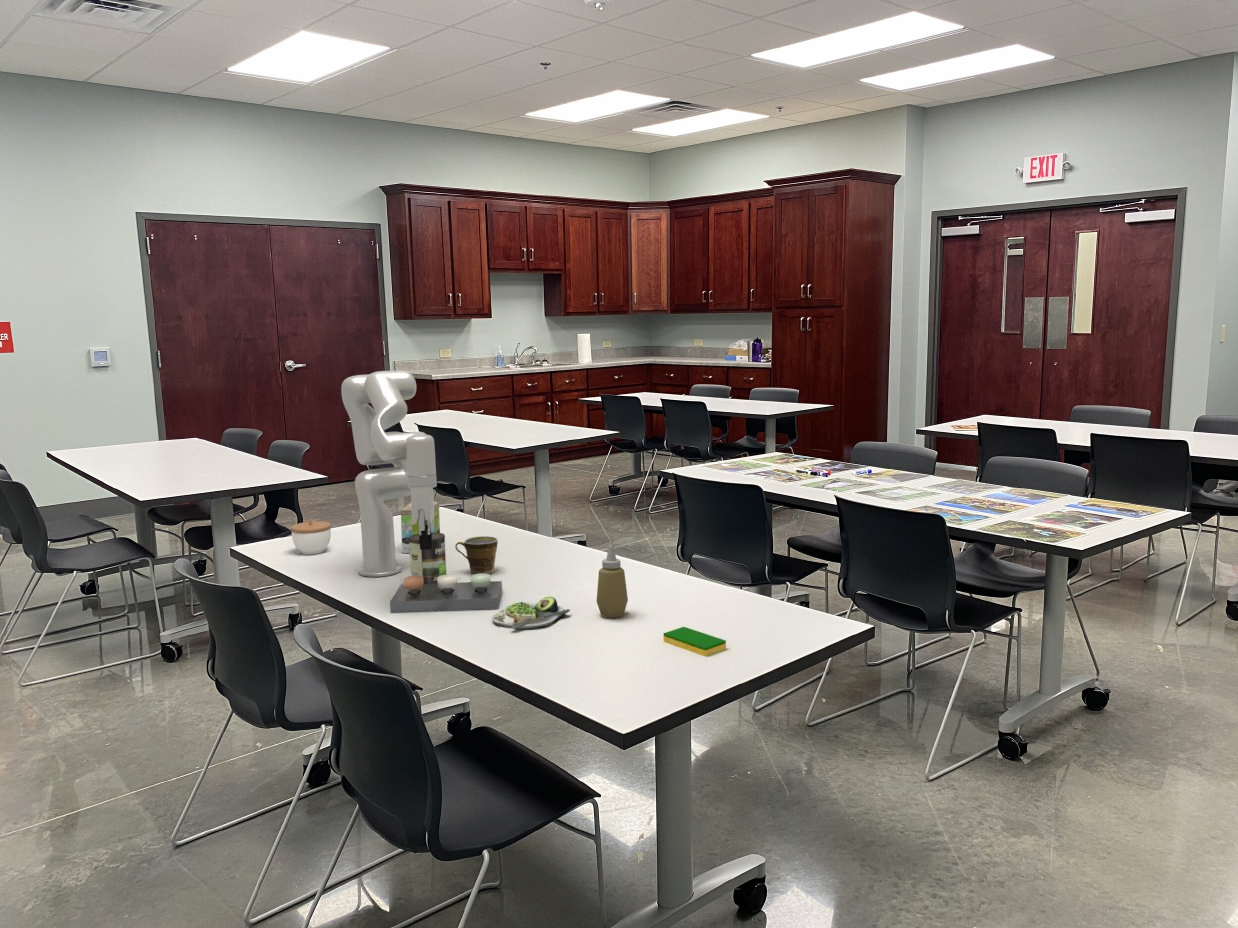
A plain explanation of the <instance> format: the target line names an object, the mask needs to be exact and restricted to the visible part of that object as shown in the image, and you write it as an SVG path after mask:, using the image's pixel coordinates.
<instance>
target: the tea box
mask: <svg viewBox="0 0 1238 928" xmlns="http://www.w3.org/2000/svg"><path fill="white" fill-rule="evenodd" d="M400 520H401V521H400V524H401V526H400V527H401V529H400V531H401V532H400V533H401V552H402V553H403V554H410V544H409V536H411V535H414V534H418V533H419V525H418V522H417V523H416V525H415V526H413V525H412V511H411V502H409V503H408V504H407V505H406V506H404V507H403V508H401V510H400ZM440 524H441V522H440V502H439V501H434V519H433V521H432V522H431V532H437V533H441V528H440V526H441V525H440Z"/></svg>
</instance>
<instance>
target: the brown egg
mask: <svg viewBox="0 0 1238 928" xmlns="http://www.w3.org/2000/svg"><path fill="white" fill-rule="evenodd" d="M403 584H404V588H405V589H408V590H410V594H419V589H420V588H423V587H424V581H423V577H422V576H411V575H409V576H406V577H404V578H403Z"/></svg>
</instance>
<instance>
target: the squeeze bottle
mask: <svg viewBox="0 0 1238 928" xmlns="http://www.w3.org/2000/svg"><path fill="white" fill-rule="evenodd" d="M606 553H607V554H606V558H604V559H603V560H602V561H601V562H602V564H601V565H602V567H601V568H600V569H599V570H598V578H597V588H596V589H597V590H596V605H597V607H598V610H599V612H600V615H601V616H602V617H604V618H613V619H614V618H620V617H622V616H624V615H625V611H626V608H627V604H628V601H629V597H628V590H627V589H628V588H627V582H626V575H625V574H626V573H625V569H624V568H623V567H621V560H620V559H619V558H617V556H616V552H615V548H614V546H613V545H609V546H608V549H607V552H606Z"/></svg>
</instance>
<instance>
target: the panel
mask: <svg viewBox="0 0 1238 928" xmlns="http://www.w3.org/2000/svg"><path fill="white" fill-rule="evenodd" d="M490 583H491V584H490V585H489V586H486V587H485V588H486V592H477V587H473V586H471V581H468V582H467V581H465V582H463V581H462V582H457V586H456V587H453V588H452V593H443V588H439V587H438V583H429V584H424V587H423V588H420V589H419V594H410V590H408V589H405V588H404V583H403V584H402V583H401V584H400V585H399V587H398V588H397V590H396V591H395V593H394V595H393V596H392V598H391V599H390V601H389V609H390V611H389V612H390V613H391V614H392V613H421V612H425V613H427V612H453V611H456V612H457V611H481V610H484V611H485V610H498V608H499V606H500V602H501V598H502V595H503V581H502V580H496V581H495V580H494V581H491V580H490Z"/></svg>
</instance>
